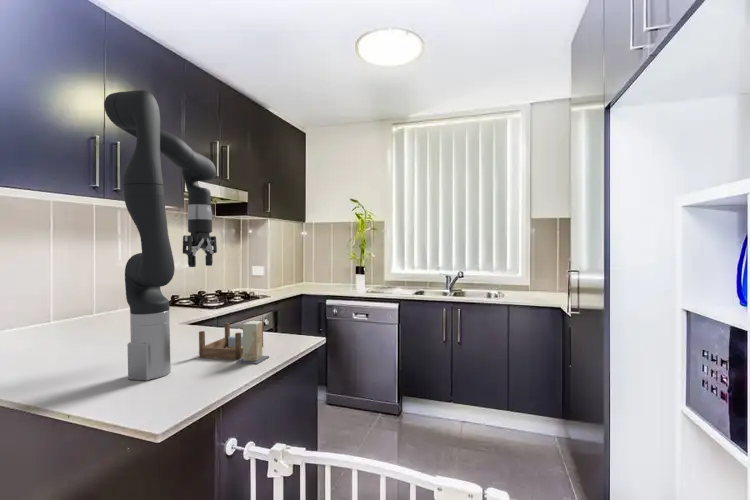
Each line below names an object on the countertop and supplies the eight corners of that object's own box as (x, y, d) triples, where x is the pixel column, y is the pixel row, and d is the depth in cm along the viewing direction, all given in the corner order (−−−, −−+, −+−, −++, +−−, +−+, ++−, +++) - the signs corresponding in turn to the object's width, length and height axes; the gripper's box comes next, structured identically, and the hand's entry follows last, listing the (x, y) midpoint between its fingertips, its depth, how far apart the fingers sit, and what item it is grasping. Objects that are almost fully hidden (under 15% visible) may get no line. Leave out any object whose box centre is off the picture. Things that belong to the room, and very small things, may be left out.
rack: (239, 359, 116) (238, 333, 116) (199, 357, 119) (198, 331, 119) (263, 347, 130) (262, 323, 130) (227, 345, 133) (226, 322, 133)
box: (256, 361, 112) (256, 324, 112) (242, 361, 113) (241, 324, 112) (263, 356, 118) (262, 320, 117) (249, 356, 118) (248, 320, 118)
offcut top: (238, 347, 119) (238, 338, 119) (228, 346, 121) (228, 337, 121) (251, 342, 125) (250, 333, 125) (241, 342, 126) (240, 333, 126)
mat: (257, 364, 111) (257, 362, 111) (235, 362, 112) (235, 361, 112) (269, 357, 117) (269, 356, 117) (248, 356, 119) (248, 354, 119)
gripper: (195, 217, 121) (196, 267, 121) (222, 219, 135) (223, 265, 135) (175, 217, 122) (176, 267, 123) (204, 220, 136) (205, 265, 136)
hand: (200, 266), depth 129 cm, fingers open, 8 cm apart
